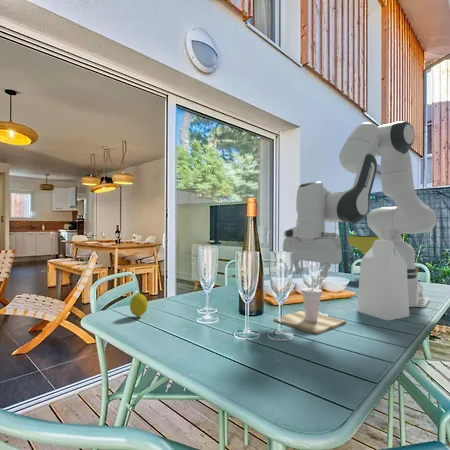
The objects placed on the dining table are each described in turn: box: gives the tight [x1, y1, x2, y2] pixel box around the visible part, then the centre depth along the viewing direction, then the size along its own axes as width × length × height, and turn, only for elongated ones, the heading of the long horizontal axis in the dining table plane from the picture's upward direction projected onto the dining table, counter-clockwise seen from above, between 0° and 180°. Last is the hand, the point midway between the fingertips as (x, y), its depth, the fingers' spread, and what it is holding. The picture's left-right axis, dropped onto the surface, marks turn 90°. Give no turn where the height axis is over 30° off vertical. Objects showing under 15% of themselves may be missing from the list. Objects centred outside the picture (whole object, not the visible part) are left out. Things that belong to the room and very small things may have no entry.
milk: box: [356, 240, 410, 321], centre depth 109 cm, size 12×12×26 cm
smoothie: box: [301, 276, 323, 322], centre depth 98 cm, size 6×6×14 cm
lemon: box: [129, 292, 148, 318], centre depth 102 cm, size 6×6×8 cm
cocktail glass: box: [347, 235, 380, 282], centre depth 174 cm, size 18×18×25 cm
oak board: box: [273, 309, 347, 336], centre depth 98 cm, size 16×16×1 cm
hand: (310, 275), depth 99 cm, fingers open, 8 cm apart
